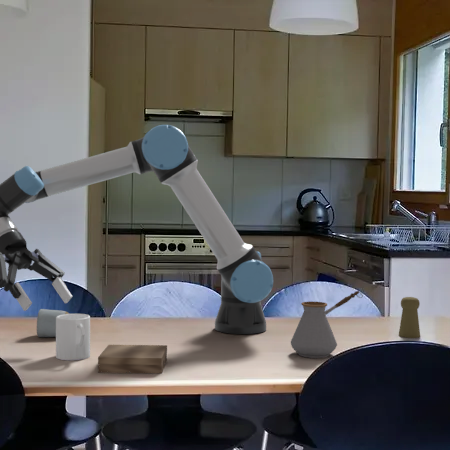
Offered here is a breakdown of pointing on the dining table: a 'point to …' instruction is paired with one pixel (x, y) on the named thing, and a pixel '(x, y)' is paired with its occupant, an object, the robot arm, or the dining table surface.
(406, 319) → the cork
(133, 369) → the dock
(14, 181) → the robot arm
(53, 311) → the ceramic mug
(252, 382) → the dining table surface
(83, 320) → the mug
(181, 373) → the dining table surface
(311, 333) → the coffee pot
